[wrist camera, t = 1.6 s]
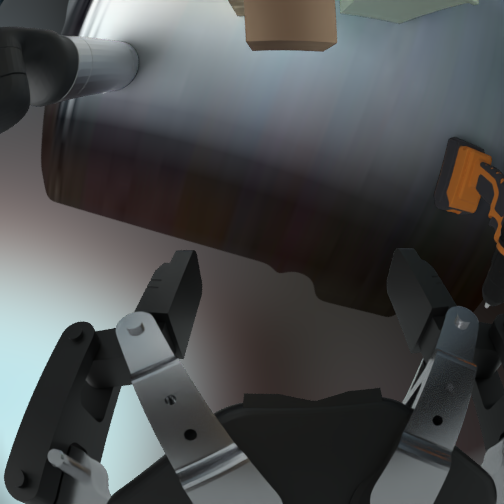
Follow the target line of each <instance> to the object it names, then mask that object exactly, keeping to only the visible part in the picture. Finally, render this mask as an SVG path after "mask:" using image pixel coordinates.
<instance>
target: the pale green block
mask: <svg viewBox="0 0 504 504" xmlns="http://www.w3.org/2000/svg"><path fill="white" fill-rule="evenodd" d="M465 3H470V4H472V5H478V4H479V0H340V14H347V15H355V16H362V17H368V18H374V19H379V20H384V21H389V22H394V23H398V24H400V23H403V22H405V21H408V20H411V19H414V18H417V17H420V16H423V15H426V14H429V13H432V12H436V11H439V10H443V9H446V8H450V7H453V6H457V5H461V4H465Z"/></svg>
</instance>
